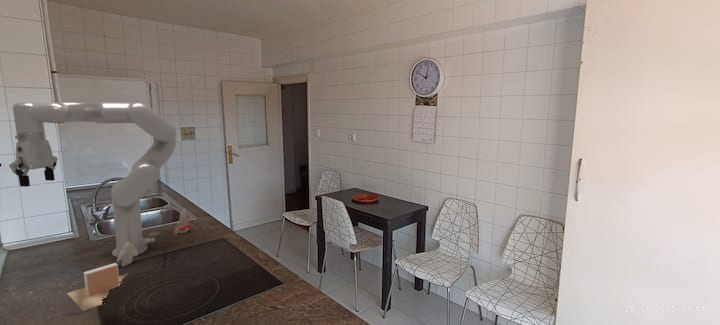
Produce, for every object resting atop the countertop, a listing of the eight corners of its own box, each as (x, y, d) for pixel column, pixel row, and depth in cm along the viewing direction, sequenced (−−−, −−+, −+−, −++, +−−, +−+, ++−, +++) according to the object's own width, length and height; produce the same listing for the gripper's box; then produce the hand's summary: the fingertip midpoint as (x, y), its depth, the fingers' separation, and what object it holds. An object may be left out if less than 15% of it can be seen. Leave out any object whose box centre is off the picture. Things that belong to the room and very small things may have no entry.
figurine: (182, 228, 179) (184, 206, 177) (193, 231, 177) (195, 209, 175) (168, 233, 170) (170, 210, 168) (180, 237, 168) (182, 213, 167)
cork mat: (128, 274, 130) (128, 273, 130) (147, 288, 121) (147, 287, 121) (67, 294, 116) (67, 293, 116) (83, 312, 106) (83, 310, 106)
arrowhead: (119, 270, 133) (117, 245, 131) (115, 269, 134) (113, 244, 132) (140, 262, 140) (138, 239, 138) (136, 261, 141) (134, 237, 140)
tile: (117, 284, 122) (115, 262, 121) (119, 286, 121) (117, 264, 119) (86, 295, 115) (83, 272, 114) (88, 297, 114) (85, 274, 112)
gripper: (17, 139, 118) (24, 189, 121) (62, 135, 135) (68, 178, 138) (-4, 139, 118) (3, 188, 121) (43, 134, 135) (49, 178, 138)
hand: (38, 183), depth 129 cm, fingers open, 9 cm apart
